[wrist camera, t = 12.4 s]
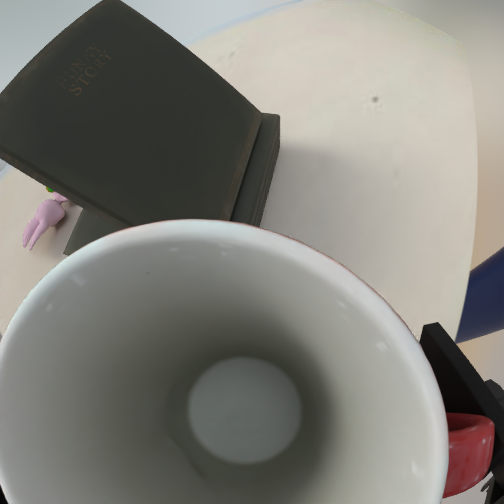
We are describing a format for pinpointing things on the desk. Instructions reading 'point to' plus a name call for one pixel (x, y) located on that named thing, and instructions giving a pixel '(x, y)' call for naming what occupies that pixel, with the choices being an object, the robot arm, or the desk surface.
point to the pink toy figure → (44, 218)
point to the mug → (222, 380)
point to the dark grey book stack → (135, 128)
